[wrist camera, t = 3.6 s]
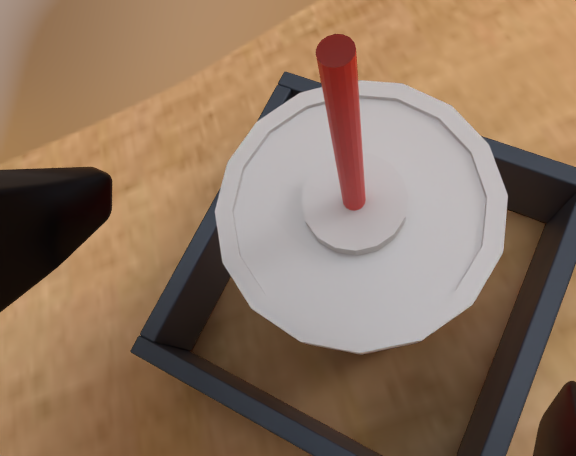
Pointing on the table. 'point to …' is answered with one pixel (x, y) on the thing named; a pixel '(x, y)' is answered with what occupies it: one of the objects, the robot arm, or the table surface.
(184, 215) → the table surface
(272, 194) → the beverage cup
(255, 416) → the box
